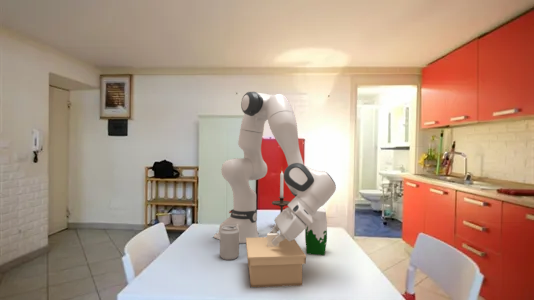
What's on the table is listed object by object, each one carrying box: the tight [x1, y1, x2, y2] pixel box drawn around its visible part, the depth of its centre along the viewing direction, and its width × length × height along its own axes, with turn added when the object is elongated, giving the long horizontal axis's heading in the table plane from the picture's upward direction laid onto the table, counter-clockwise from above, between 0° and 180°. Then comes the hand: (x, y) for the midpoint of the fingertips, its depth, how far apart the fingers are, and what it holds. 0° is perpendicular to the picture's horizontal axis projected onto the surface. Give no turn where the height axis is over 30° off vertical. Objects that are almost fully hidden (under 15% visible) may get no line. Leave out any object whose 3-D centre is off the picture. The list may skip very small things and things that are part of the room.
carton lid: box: [245, 232, 307, 267], centre depth 92 cm, size 18×20×6 cm
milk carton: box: [304, 207, 328, 256], centre depth 114 cm, size 9×9×20 cm
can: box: [219, 225, 240, 261], centre depth 107 cm, size 8×8×12 cm
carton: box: [248, 264, 303, 288], centre depth 92 cm, size 16×18×9 cm
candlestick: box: [271, 165, 291, 228], centre depth 152 cm, size 11×11×35 cm
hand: (271, 240), depth 92 cm, fingers open, 7 cm apart
